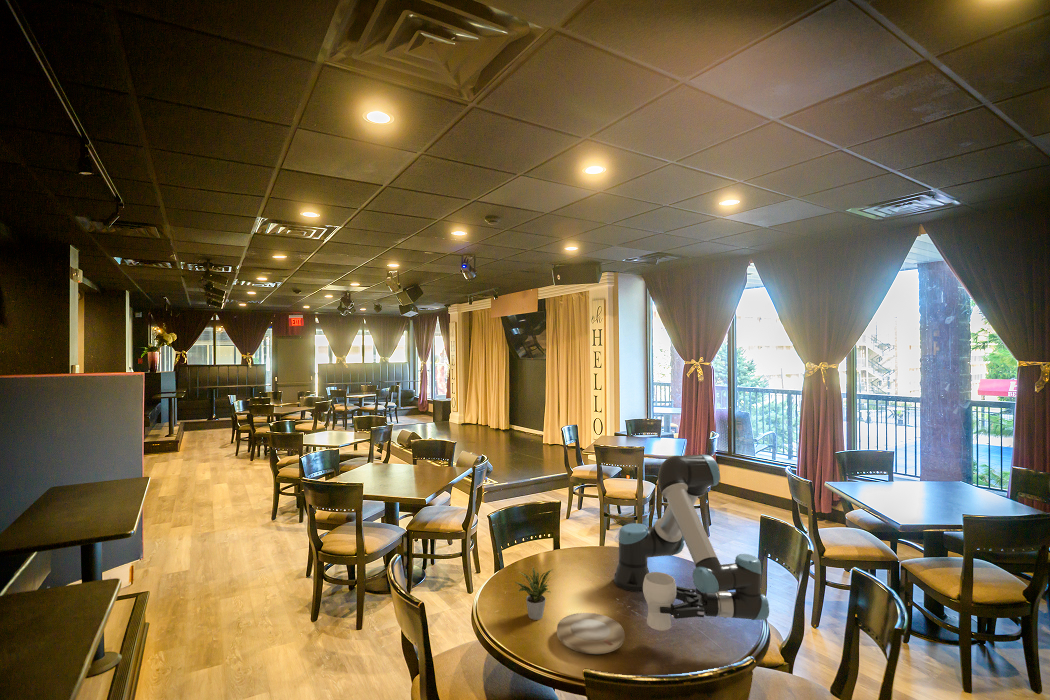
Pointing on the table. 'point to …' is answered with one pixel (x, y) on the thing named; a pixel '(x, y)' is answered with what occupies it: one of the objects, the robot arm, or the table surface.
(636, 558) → the robot arm
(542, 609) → the house plant
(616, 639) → the turntable platter
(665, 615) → the cup
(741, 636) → the table surface
